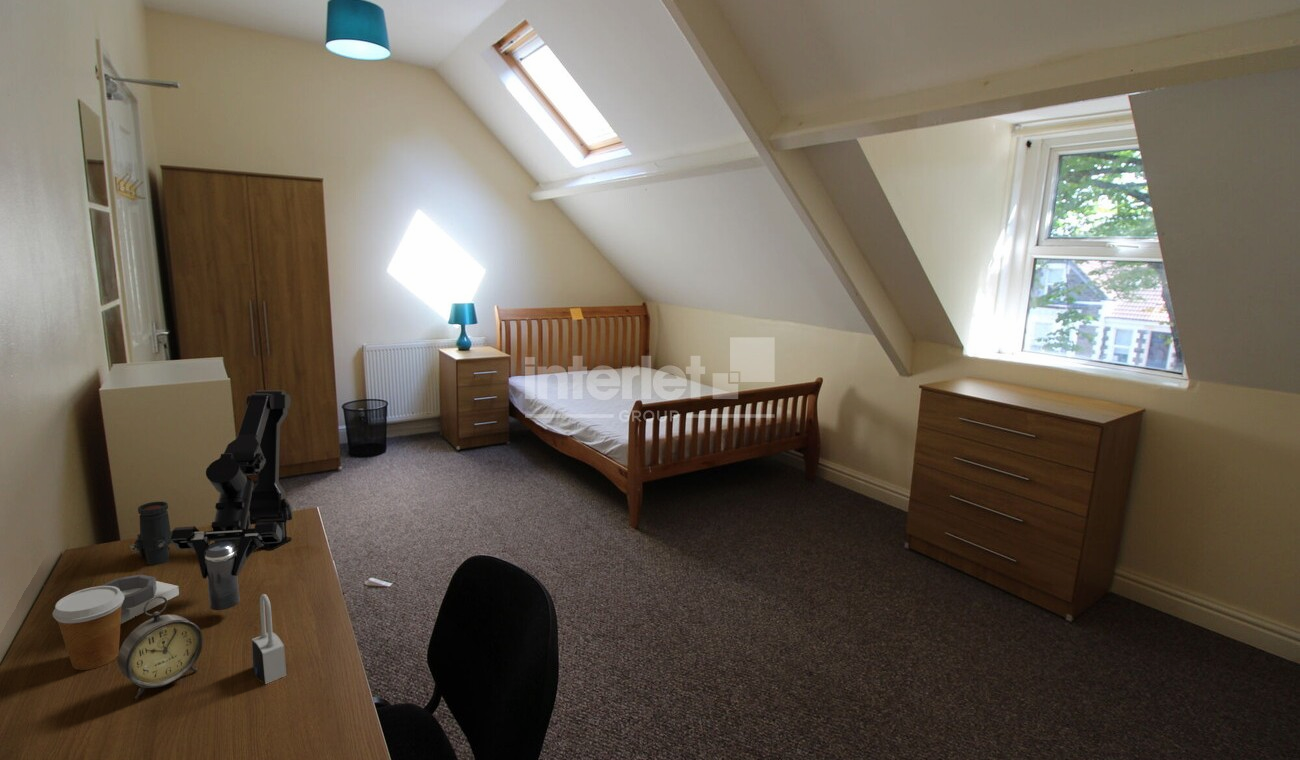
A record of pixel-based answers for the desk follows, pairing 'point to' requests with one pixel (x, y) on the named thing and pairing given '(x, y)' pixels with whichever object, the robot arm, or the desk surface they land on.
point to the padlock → (268, 649)
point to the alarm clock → (160, 650)
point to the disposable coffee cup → (91, 625)
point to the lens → (222, 575)
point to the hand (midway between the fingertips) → (220, 576)
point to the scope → (153, 533)
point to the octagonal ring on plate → (141, 594)
